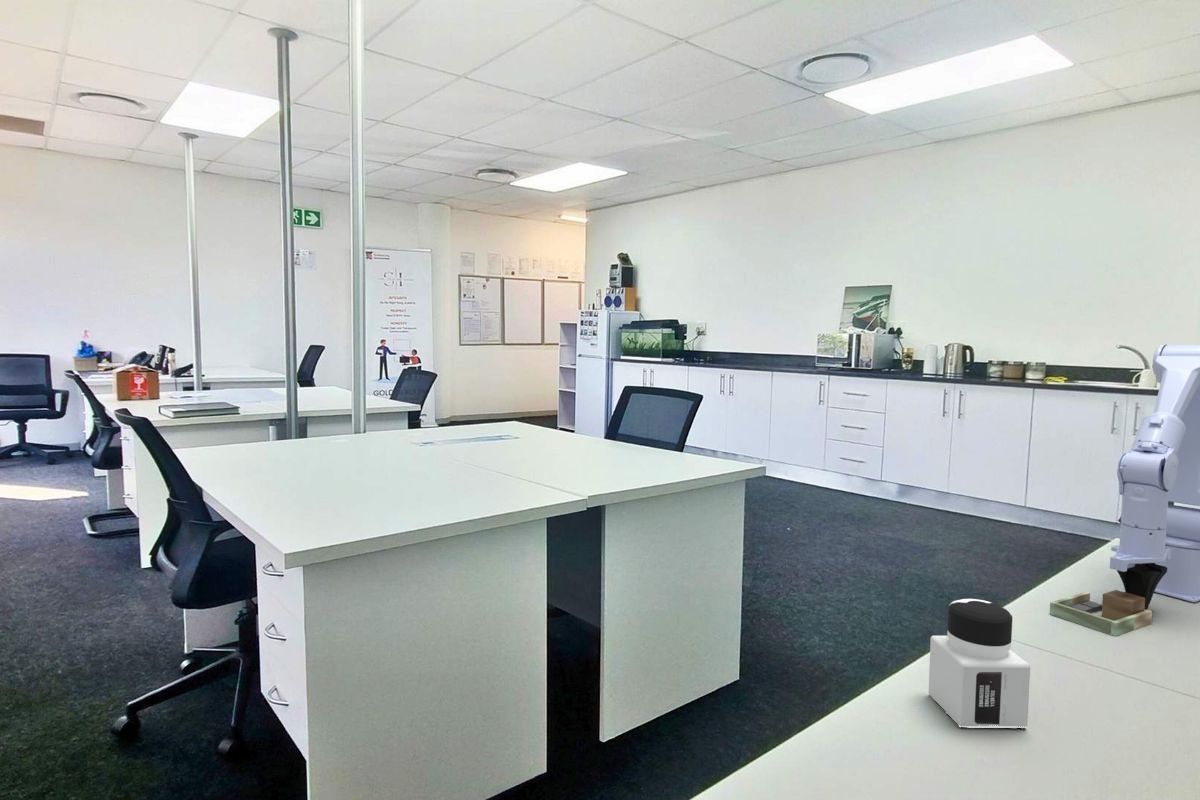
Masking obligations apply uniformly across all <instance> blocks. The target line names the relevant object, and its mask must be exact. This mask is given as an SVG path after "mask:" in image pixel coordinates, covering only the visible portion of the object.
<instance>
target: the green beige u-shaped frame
mask: <svg viewBox="0 0 1200 800" xmlns="http://www.w3.org/2000/svg"><path fill="white" fill-rule="evenodd" d="M1088 601H1091V593H1090V592H1087V591H1085V592H1082V593H1079V594H1075V595H1070V596H1067V597H1064V598H1060V599H1056V600H1053V601H1050V602H1049V603H1050V604H1049V615H1051V616H1054V617H1057V618H1060V619H1062V620H1065V621H1068V622H1072V623H1075V624H1078V625H1080V626H1083V627H1086V628H1089V629H1092V630H1095V631H1097V632H1102V633H1104V634H1107V635H1110V636H1113V637H1117V636H1119V635H1123V634H1125V633H1129V632H1131V631H1134V630H1137V629H1140V628H1144V627H1146V626H1149V625H1152V623H1153V621H1152V620H1153V619H1152V618H1153V610H1149V609H1145V610H1144V611H1143V612H1140V613H1137V614H1134V615H1131V616H1128V617H1125V618H1122V619H1119V620H1116V621H1113V620H1110V619H1107V618H1104V617H1102V616H1100V615H1097V614H1093V613H1088V612H1085V611H1082V610H1078V609H1075V608H1072V607H1071V606H1074V605H1077V604H1081V603H1084V602H1088Z"/></svg>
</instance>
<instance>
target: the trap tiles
mask: <svg viewBox="0 0 1200 800" xmlns="http://www.w3.org/2000/svg"><path fill="white" fill-rule="evenodd" d="M1071 607H1072V608H1075V609H1078V610H1082V611H1085V612H1088V613H1091V614H1093V613H1096V612H1099V611H1102V603H1098V602H1094V601H1091V600H1090V601H1088V602H1084V603H1081V604H1077V605H1074V606H1071Z"/></svg>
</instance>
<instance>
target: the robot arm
mask: <svg viewBox="0 0 1200 800" xmlns="http://www.w3.org/2000/svg"><path fill="white" fill-rule="evenodd" d="M1152 372H1153V374H1154V376H1155V378H1156V382H1157V383H1158V384H1159V389H1158V393H1157V397H1156V401H1155V406H1154V409H1153V413H1151V414H1147V415H1145V416H1144V417H1143V418H1142V420H1141V422H1140V423H1139V424H1140V425H1139V428H1138V430H1137V433H1136V435H1135V438H1134V440H1133V443H1132V445H1131V448H1130V450H1128V452H1123V453H1122V454H1121V455H1120V457H1119V459H1118V461H1117V462H1118V463H1117V468H1116V476H1117V480H1118V485H1119V486H1118V487H1119V488H1118V493H1119V495H1121V497H1122V498H1121V513H1120V529H1119V544H1118V545H1116V544H1115V545H1112V546H1111V547H1110V551H1112V552H1115V553H1114V554H1113V555H1112V556H1109V557H1110V558H1109V559H1110V560H1109V569H1112V570H1116V573H1118V575H1119V577H1120V579H1121V582H1122V584H1123V588H1124V592H1126V593H1130V594H1133V595H1137V596H1140V597H1144V598H1145V609H1144V611H1146V610H1148V608H1149V606H1150V604H1151V602H1152V598H1153V596H1154V593H1157V594H1161V595H1165V596H1169V597H1171V598H1176V599H1181V600H1184V601H1188V602H1192V603H1196V602H1197V603H1198V602H1199V601H1200V508H1195V507H1188V506H1196V507H1200V344H1174V345H1173V344H1167V343H1166V344H1162V343H1161V345H1159V346H1158V347H1157V348H1156V349H1155V351H1154V353H1153V358H1152ZM1169 503H1176V505H1175V504H1169ZM1177 504H1183V505H1188V506H1182V505H1177Z"/></svg>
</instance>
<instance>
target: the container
mask: <svg viewBox="0 0 1200 800" xmlns="http://www.w3.org/2000/svg"><path fill="white" fill-rule="evenodd" d="M947 609H948V611H947V635H932V636H930V645H929V646H930V647H929V669H928V670H929V672H928V696H930V698H932V700H933V701H936V702H937V703H938V704H939V705H940V706H941V707H942V708H943V709H944V710H945V711H946V712H945V711H944V710H943V709H942V708H941V707H940V706H939V705H938V704H937V703H936V702H935V703H936V704H937V705H938V706H939V707H940V708H941V709H942V710H943V711H944V712H945V713H946V715H947V714H948V715H949V716H950V717H951V718H952V719H953V720H954V721H955V722H956V723H957V724H958V725H960V726H979V725H980V726H989V725H990V726H991V725H992V726H993V725H994V726H995V725H996V726H997V725H998V726H1018V727H1019V726H1020V727H1021V726H1022V727H1023V726H1024V727H1025V726H1027V727H1028V721H1029V720H1028V719H1029V717H1028V716H1029V700H1030V695H1029V694H1030V677H1031V666H1030V664H1029V662H1027V661H1026V660H1024V658H1022V657H1020V656H1019V655H1017V653H1015V652H1014V651H1013V650H1011V649H1012V637H1013V615H1012V614H1011V613H1010V611H1009V610H1007V609H1006V608H1005V607H1003V606H1000V605H999V604H997V603H995V602H994V603H993V602H990V601H987V600H984V599H977V598H976V599H975V598H962V599H957V600H956V599H955V600H953V601H952V602H950V603H949V605H948V608H947ZM948 715H947V716H948ZM949 716H948V717H949ZM950 717H949V718H950ZM951 718H950V719H951ZM952 719H951V720H952ZM953 720H952V721H953ZM954 721H953V722H954ZM955 722H954V723H955ZM956 723H955V724H956ZM957 724H956V725H957ZM958 725H957V726H958Z"/></svg>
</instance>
